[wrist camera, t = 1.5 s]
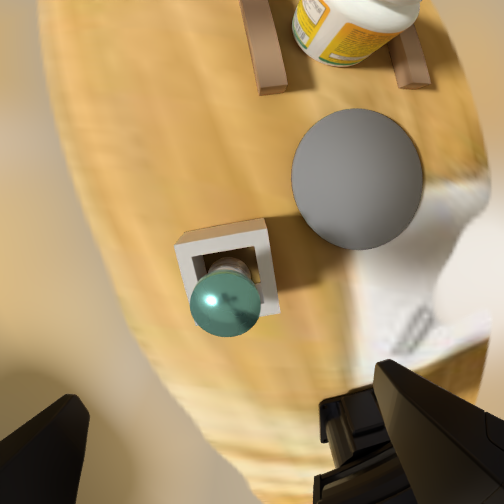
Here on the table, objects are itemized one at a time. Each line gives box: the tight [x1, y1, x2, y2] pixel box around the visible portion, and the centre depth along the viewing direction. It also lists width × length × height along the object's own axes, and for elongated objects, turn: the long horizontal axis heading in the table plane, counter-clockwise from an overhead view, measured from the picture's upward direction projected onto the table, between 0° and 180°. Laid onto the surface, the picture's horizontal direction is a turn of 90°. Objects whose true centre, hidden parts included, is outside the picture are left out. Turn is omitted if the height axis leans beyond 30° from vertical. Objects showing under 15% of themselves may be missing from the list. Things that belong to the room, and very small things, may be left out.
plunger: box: [190, 257, 261, 337], centre depth 15 cm, size 3×3×4 cm
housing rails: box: [239, 0, 431, 96], centre depth 13 cm, size 10×11×3 cm
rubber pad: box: [291, 109, 422, 250], centre depth 17 cm, size 9×9×1 cm
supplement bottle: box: [292, 0, 422, 67], centre depth 10 cm, size 5×5×10 cm
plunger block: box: [174, 218, 280, 326], centre depth 17 cm, size 5×5×3 cm
